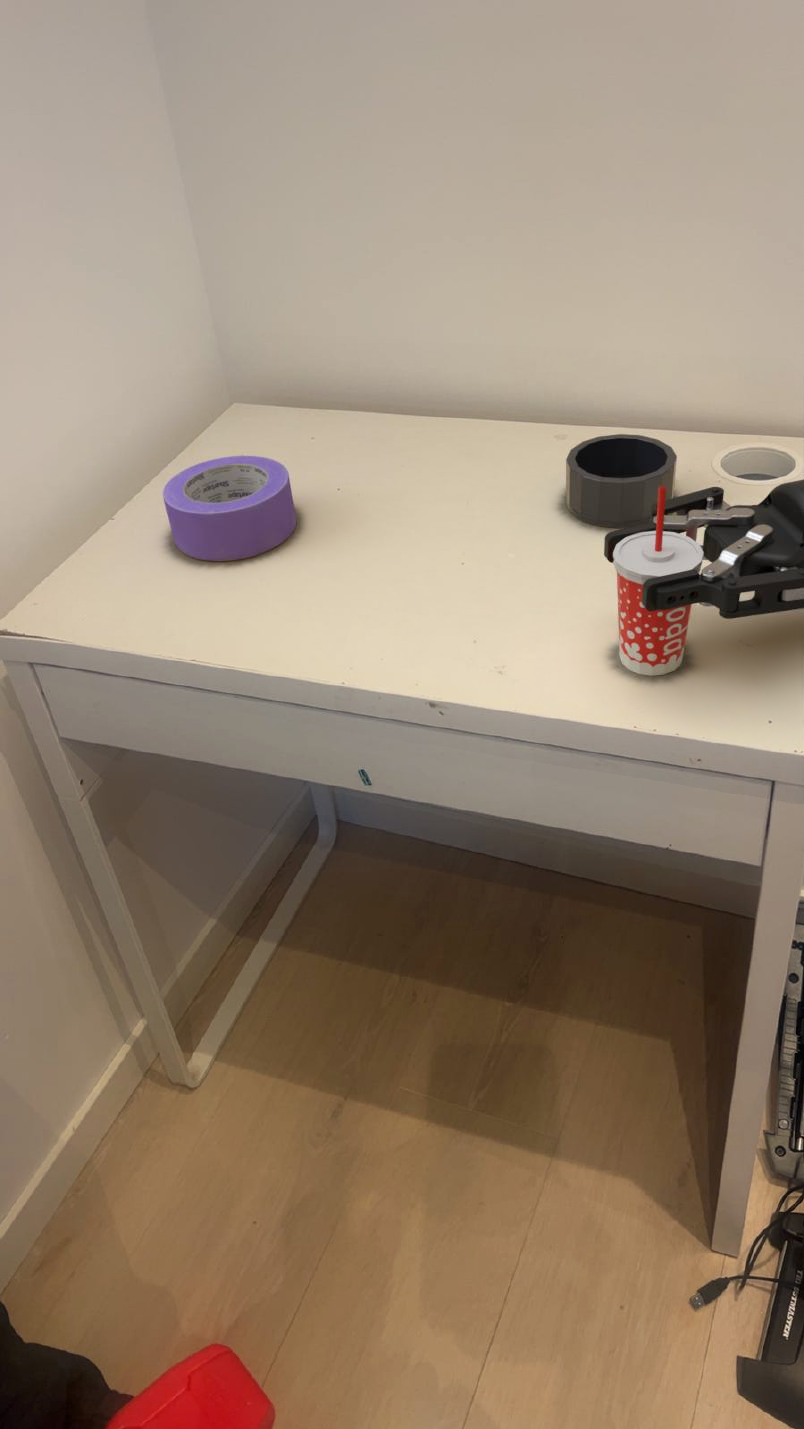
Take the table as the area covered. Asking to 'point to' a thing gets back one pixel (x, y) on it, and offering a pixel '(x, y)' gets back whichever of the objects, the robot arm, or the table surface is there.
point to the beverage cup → (643, 634)
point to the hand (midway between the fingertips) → (625, 571)
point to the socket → (618, 479)
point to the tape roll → (230, 507)
